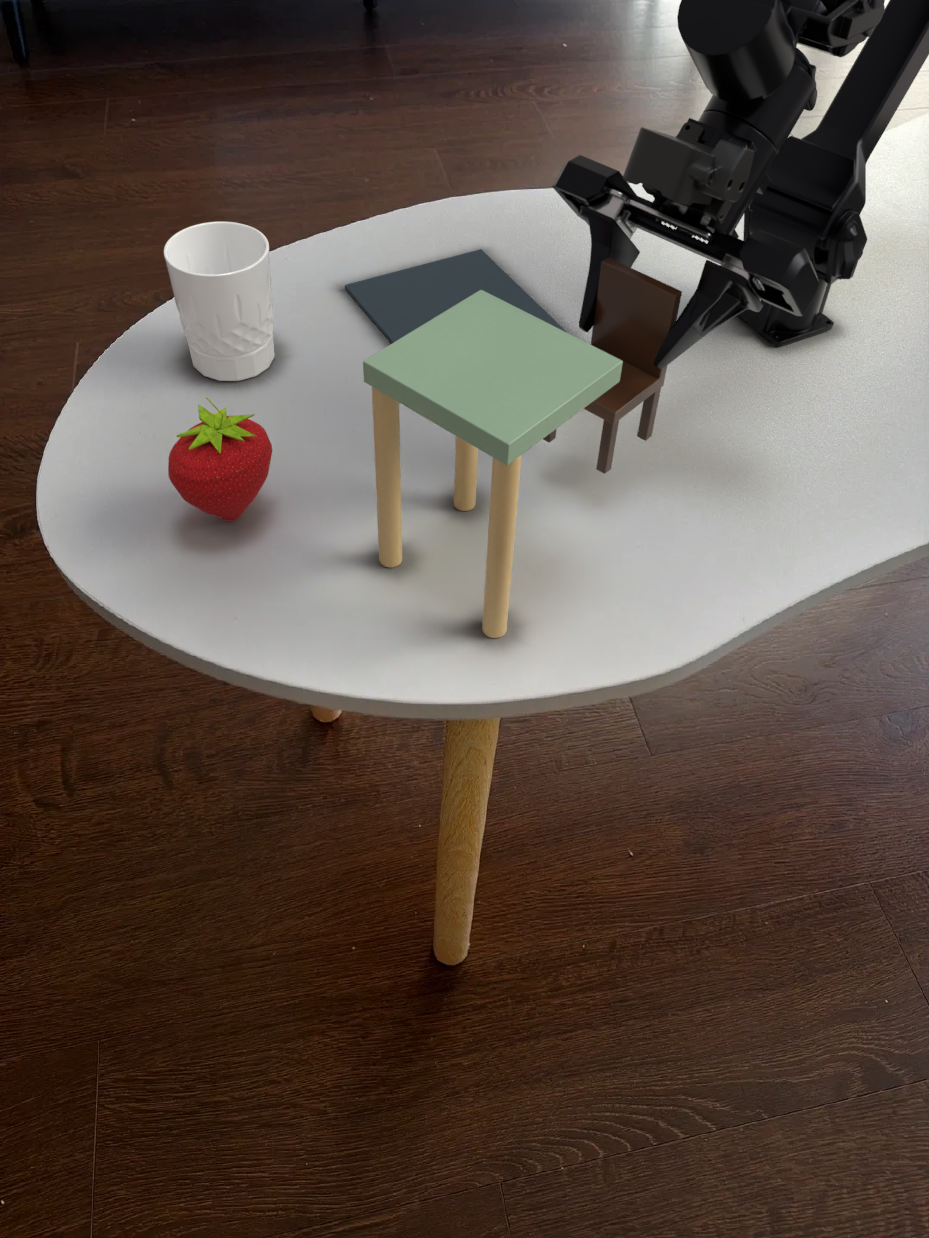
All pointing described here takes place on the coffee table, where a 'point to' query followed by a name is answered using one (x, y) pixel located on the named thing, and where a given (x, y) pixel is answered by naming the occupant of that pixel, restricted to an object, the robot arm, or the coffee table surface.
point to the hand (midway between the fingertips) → (618, 348)
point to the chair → (630, 348)
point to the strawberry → (220, 463)
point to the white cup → (223, 297)
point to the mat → (436, 292)
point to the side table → (480, 413)
